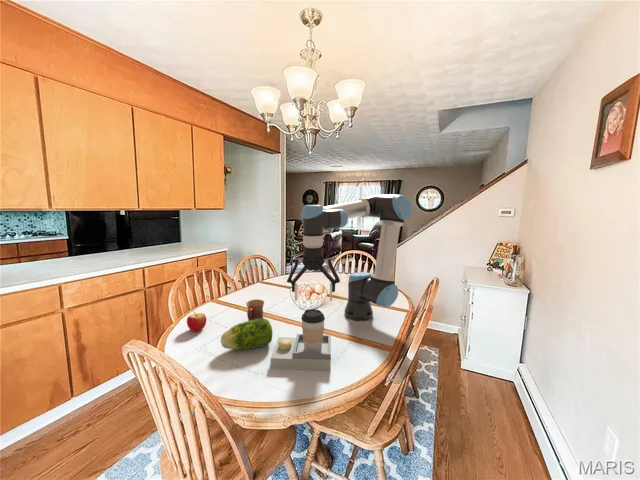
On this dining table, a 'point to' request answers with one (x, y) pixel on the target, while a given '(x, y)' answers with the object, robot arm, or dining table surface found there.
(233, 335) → the lettuce
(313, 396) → the dining table surface
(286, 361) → the grey tray
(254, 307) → the mug
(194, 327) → the apple
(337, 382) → the dining table surface
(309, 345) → the coffee cup
